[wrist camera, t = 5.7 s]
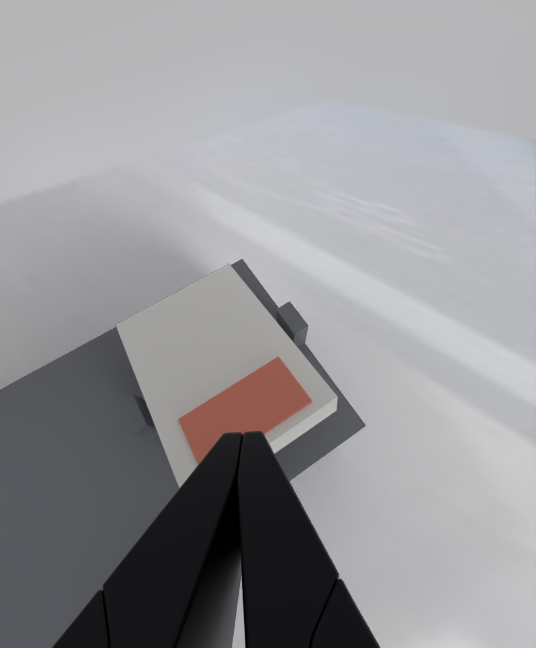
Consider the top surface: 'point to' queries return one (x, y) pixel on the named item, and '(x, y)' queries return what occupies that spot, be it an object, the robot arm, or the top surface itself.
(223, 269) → the outlet rocker
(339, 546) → the top surface
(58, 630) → the power strip
